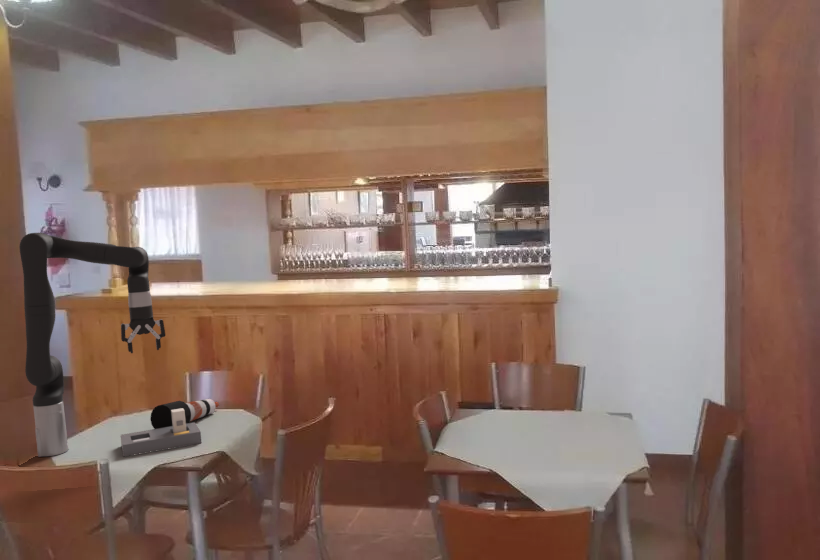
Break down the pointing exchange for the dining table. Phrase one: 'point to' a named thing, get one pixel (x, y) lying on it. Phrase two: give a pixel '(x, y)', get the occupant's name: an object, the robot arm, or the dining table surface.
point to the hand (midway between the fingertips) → (145, 351)
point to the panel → (159, 439)
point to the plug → (178, 420)
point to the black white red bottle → (192, 409)
